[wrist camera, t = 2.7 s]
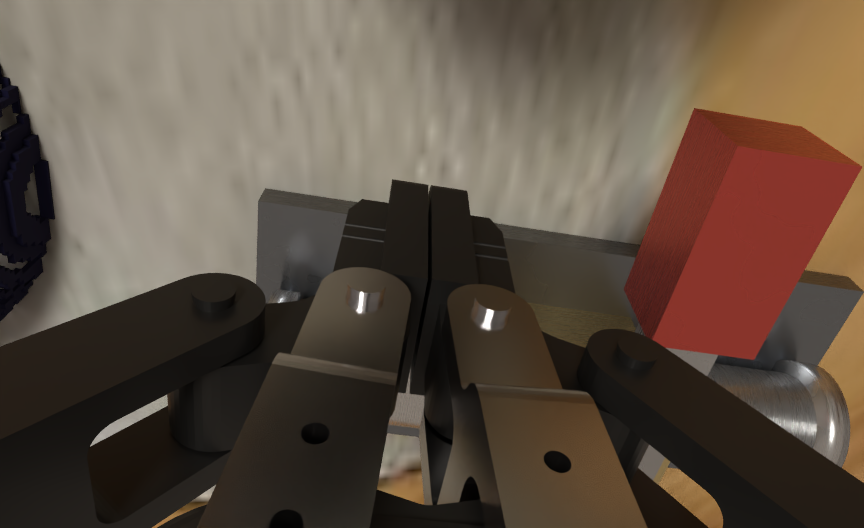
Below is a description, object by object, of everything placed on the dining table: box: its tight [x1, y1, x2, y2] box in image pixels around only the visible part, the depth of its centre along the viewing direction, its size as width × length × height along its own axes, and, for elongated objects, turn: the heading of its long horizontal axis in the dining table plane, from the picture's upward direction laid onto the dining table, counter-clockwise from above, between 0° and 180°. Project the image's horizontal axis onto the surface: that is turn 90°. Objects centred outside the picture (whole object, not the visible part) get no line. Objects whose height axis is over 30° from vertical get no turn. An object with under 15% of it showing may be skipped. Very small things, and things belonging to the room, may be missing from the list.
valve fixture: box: [256, 189, 864, 484], centre depth 26 cm, size 12×26×10 cm, turn 81°
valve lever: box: [624, 108, 862, 480], centre depth 17 cm, size 16×3×2 cm, turn 171°
